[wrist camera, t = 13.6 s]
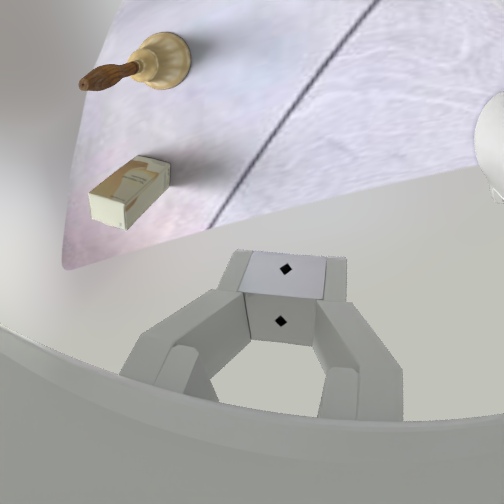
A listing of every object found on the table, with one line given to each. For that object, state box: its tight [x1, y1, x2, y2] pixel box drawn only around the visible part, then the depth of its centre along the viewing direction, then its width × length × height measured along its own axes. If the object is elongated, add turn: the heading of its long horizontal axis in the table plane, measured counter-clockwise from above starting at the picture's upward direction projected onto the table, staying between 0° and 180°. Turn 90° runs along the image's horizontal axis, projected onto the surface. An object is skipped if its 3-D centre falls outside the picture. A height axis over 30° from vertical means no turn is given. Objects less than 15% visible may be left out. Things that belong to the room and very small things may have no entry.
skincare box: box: [88, 156, 170, 231], centre depth 41 cm, size 6×4×12 cm
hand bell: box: [79, 32, 191, 91], centre depth 28 cm, size 8×8×16 cm
